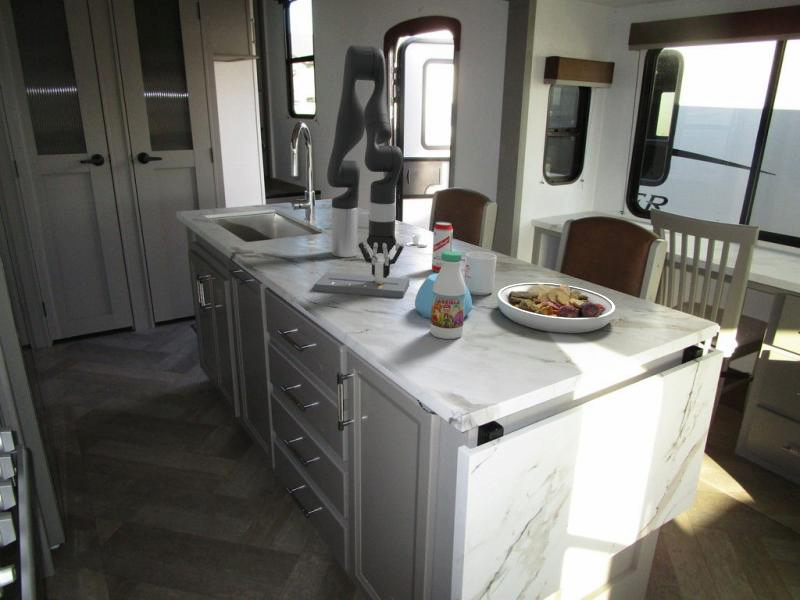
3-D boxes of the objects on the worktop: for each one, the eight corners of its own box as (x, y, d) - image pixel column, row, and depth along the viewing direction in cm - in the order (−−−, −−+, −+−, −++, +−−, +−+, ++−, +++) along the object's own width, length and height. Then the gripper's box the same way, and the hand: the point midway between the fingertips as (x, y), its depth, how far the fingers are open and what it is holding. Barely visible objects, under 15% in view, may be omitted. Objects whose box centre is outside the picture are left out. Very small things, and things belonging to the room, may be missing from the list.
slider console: (326, 278, 177) (326, 271, 176) (409, 285, 174) (409, 278, 173) (314, 290, 165) (314, 283, 164) (403, 298, 162) (403, 290, 161)
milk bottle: (428, 327, 140) (432, 248, 134) (459, 328, 141) (465, 248, 134) (432, 340, 133) (437, 256, 126) (465, 340, 133) (471, 256, 127)
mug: (499, 294, 168) (502, 257, 165) (473, 297, 165) (476, 259, 161) (476, 283, 179) (479, 248, 175) (452, 285, 175) (454, 250, 171)
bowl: (473, 307, 157) (475, 279, 155) (554, 294, 171) (557, 268, 169) (550, 346, 133) (554, 314, 130) (637, 327, 147) (642, 298, 144)
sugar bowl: (429, 300, 161) (431, 260, 157) (479, 310, 154) (482, 269, 151) (404, 315, 148) (406, 272, 144) (458, 327, 141) (461, 282, 138)
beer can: (449, 273, 188) (452, 225, 182) (430, 272, 189) (432, 224, 184) (451, 269, 193) (454, 222, 188) (432, 267, 195) (435, 220, 189)
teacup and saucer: (429, 248, 223) (430, 238, 222) (410, 249, 221) (410, 238, 220) (423, 243, 231) (423, 233, 230) (404, 243, 229) (404, 233, 228)
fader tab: (378, 278, 171) (378, 258, 169) (386, 278, 171) (386, 258, 169) (374, 283, 165) (375, 263, 163) (382, 284, 165) (383, 263, 163)
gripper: (408, 217, 165) (405, 275, 170) (361, 214, 166) (360, 271, 172) (404, 222, 158) (402, 282, 163) (355, 219, 159) (354, 278, 165)
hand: (380, 276), depth 167 cm, fingers closed on fader tab, 2 cm apart
